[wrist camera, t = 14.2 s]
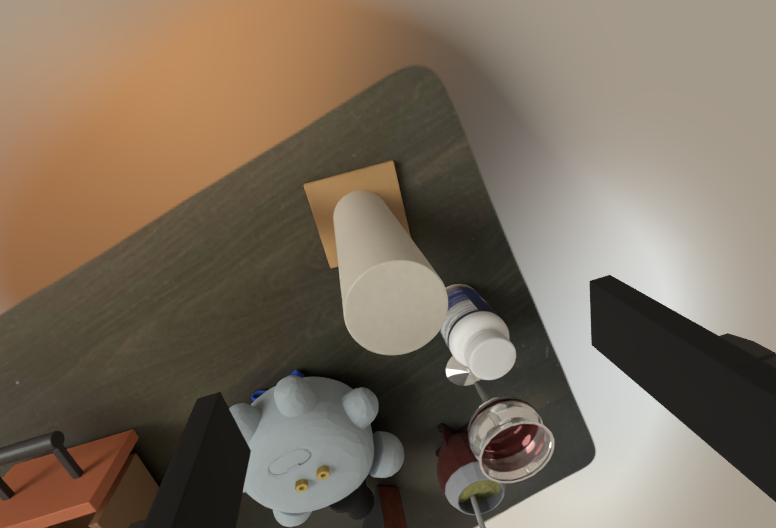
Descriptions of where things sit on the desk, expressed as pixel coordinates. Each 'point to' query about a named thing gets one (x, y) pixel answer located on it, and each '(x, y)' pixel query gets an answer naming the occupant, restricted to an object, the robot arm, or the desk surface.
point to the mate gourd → (465, 476)
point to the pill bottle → (477, 334)
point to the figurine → (314, 447)
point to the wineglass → (504, 432)
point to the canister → (385, 279)
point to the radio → (386, 509)
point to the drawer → (75, 484)
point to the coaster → (334, 188)
